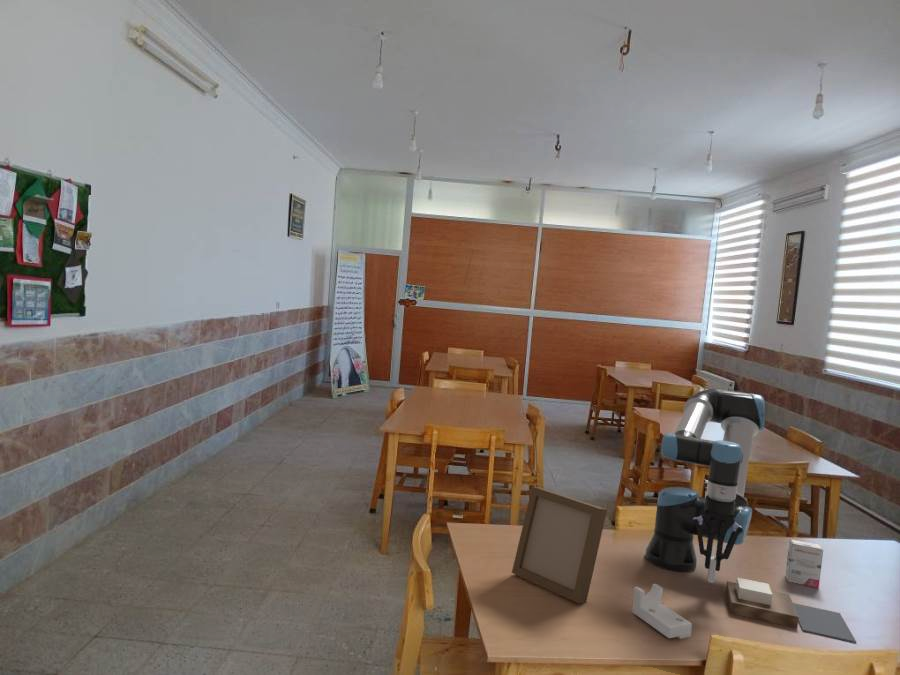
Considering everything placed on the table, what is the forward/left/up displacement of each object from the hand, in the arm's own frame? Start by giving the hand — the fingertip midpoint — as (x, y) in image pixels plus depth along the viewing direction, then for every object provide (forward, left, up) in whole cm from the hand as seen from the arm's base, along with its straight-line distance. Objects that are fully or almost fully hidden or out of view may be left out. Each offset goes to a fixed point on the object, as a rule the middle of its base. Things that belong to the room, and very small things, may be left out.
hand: (710, 580), depth 176 cm
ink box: (+28, +27, -5) cm, 39 cm away
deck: (+13, 0, -5) cm, 14 cm away
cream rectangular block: (+11, 0, -2) cm, 11 cm away
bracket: (-13, -23, -6) cm, 27 cm away
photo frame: (-40, -13, -5) cm, 42 cm away
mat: (+28, 0, -5) cm, 29 cm away
